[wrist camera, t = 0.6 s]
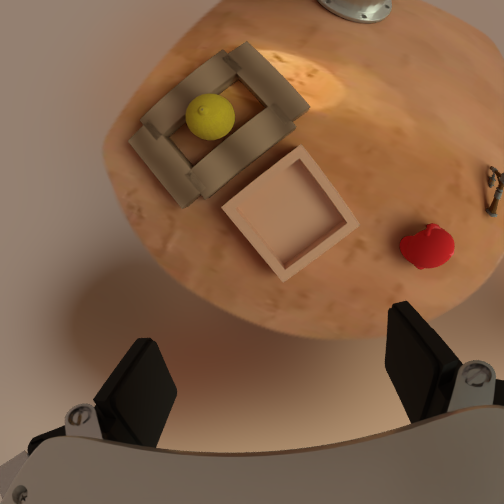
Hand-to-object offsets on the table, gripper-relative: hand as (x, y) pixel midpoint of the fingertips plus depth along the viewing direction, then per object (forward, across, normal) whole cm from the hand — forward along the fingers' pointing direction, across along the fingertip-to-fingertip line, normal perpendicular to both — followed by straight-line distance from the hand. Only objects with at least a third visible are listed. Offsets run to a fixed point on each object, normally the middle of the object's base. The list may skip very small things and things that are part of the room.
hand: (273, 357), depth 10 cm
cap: (+27, -21, +6) cm, 35 cm away
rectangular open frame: (+27, +4, -14) cm, 31 cm away
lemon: (+27, +4, -14) cm, 31 cm away
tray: (+27, -3, -1) cm, 27 cm away
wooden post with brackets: (+27, -37, 0) cm, 46 cm away
